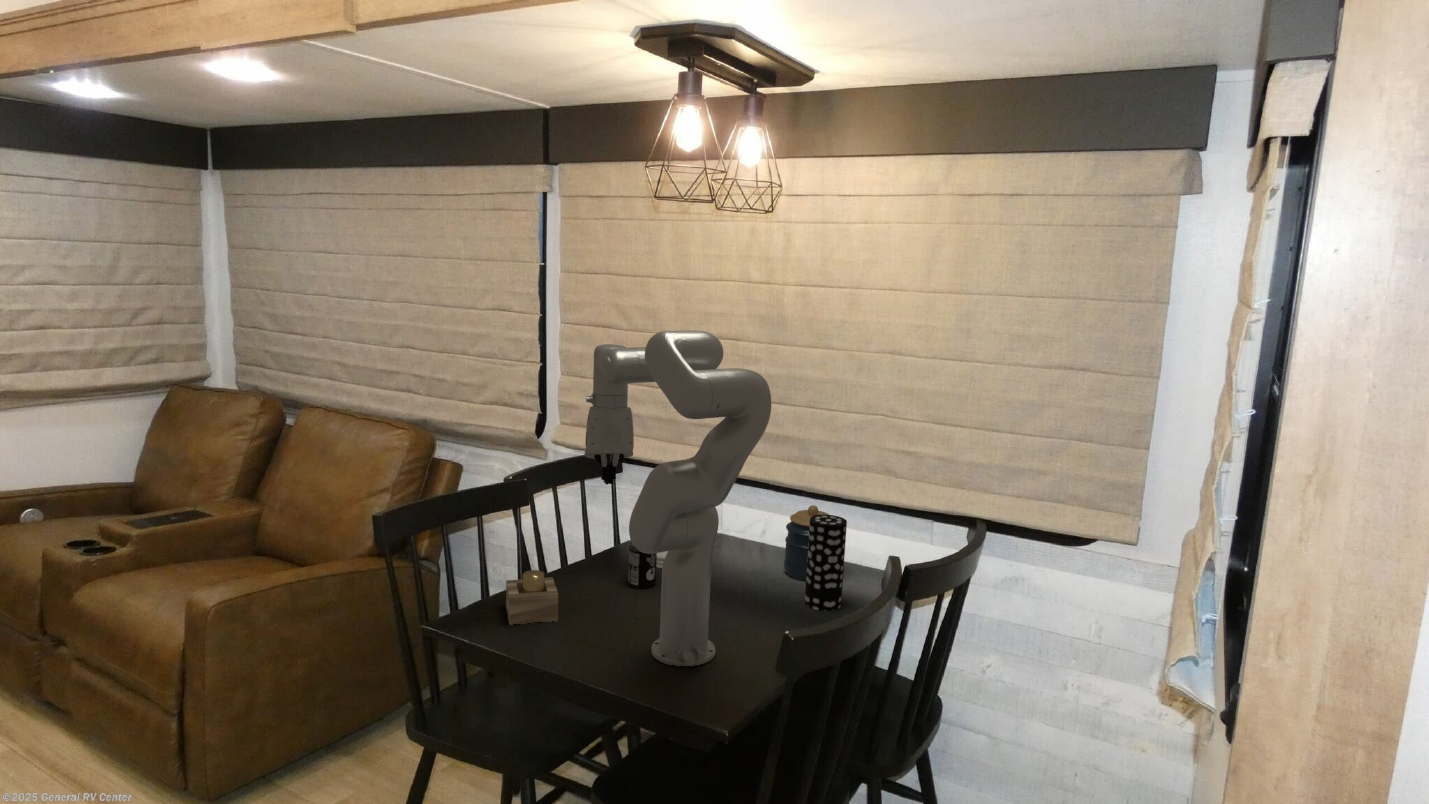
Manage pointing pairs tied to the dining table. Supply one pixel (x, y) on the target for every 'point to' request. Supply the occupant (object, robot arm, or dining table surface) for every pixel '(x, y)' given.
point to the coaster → (660, 559)
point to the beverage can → (641, 568)
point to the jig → (531, 603)
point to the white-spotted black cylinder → (825, 562)
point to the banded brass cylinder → (533, 581)
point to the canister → (798, 542)
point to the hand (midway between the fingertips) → (608, 482)
